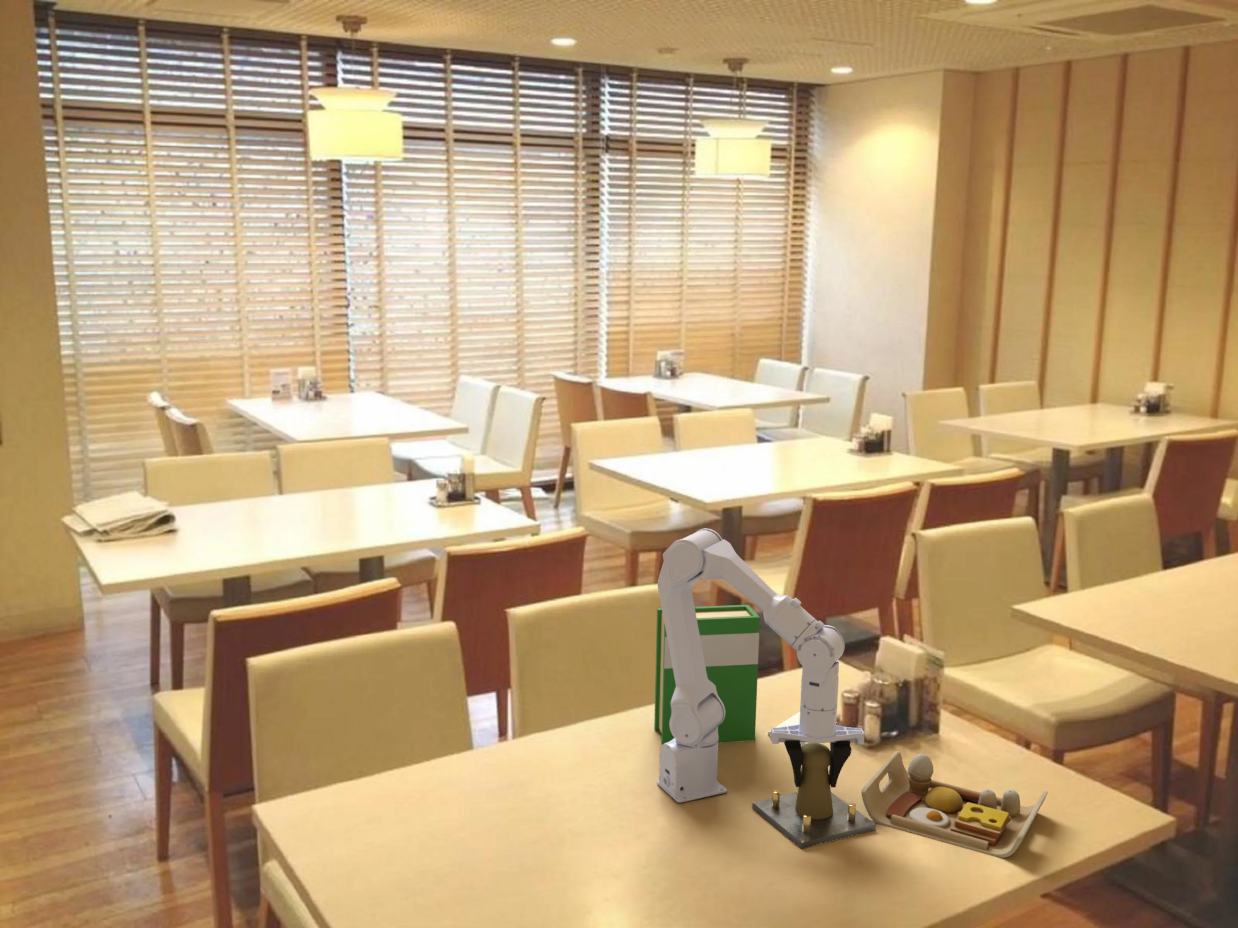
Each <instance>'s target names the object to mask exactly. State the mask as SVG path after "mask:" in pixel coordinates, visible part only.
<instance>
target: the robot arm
mask: <svg viewBox="0 0 1238 928" xmlns="http://www.w3.org/2000/svg"><path fill="white" fill-rule="evenodd" d="M662 558H663V563H662V566H661V569H660V572H659V576H658V579H657V590H658V596H659V600H660V601H659V602H660V607H661V608H662V612H663V618H664V623H665V629H666V634H667V640H668V645H669V650H670V656H671V661H672V667H673V672H674V678H675V683H676V688H675V691H674V694H673V697H672V700H671V710H672V713H671V718H670V722H669V726H670V731H671V733H672V735H673V736H674V739H672V740H671V741H669V742H667V743H664V744H663V745H662V744H661V747H660V749H659V763H658V764H659V768H658V769H659V770H658V772H659V773H658V779H657V781H656V784H657V785H659V787H660V788H661V789H663V790H664V791H665V793H667V794H668V795H669V796H670V797H671V798H672V799H673V800H675V801H676V803H679V804H681V803H686V802H690V801H694V800H698V799H703V798H708V797H711V796H716V795H720V794H725V793H727V792H728V789H727V788H726V787H725V786H724V785H722V784H721V782H719V781H718V769H719V768H718V766H719V765H718V764H719V743H718V738H719V736H718V726H719V725H720V724H721V723H722V722H723V720H724V718H725V707H724V704H723V702H722V701H721V699H720V698H719V696H718V694H717V690H716V686H715V685H714V684H713V683H712V682H711V681H709V680H708V678H707V673H706V667H705V662H704V656H703V651H702V645H701V640H700V634H699V629H698V623H697V618H696V612H695V607H696V606H695V602H694V597H693V592H692V591H693V590H692V589H693V587H694V586H695V584H696V583H697V582H698V580H699V579H700V578H701V579H703V580H723V581H726V583H728V584H730V586H732V587H733V588H734V589H735V590H737V591H738V592H739V593H741V595H743V596H744V597H745V598H747V599H748V600H749V601H751V603H753V604H754V605H755V606H757V608H759V609H760V610H761V611H762V613H763V621H764V623H765V624H766V625H767V626H769V628H771V629H772V630H773V631H774V632H775V633H776V634H777V635H778V636H779V637H780V638H782V639H783V640H784V641H785V642H786V643H787V644H788V645H789V646H790V647H791V648H792V649H793V650H795V651H796V657H797V660H798V662H799V664H800V665H801V666H802V670H801V671H802V672H801V680H800V681H801V686H800V688H801V689H800V703H799V704H800V706H799V712H800V724H798V725H792V726H785V727H777V726H775V727H776V728H775V727H770V730H771V736H770V739H769V740H770V741H771V744H772V745H779V743H783V745H784V748H785V750H786V752H787V755H788V756H789V757H788V758H789V761H790V763H791V768H792V771H793V772H792V773H793V782H794V785H795V788H799V787H801V769H802V765H801V764H802V756H803V752H802V749H801V747H802V746H801V744H800V742H814V743H820V744H826V743H829V747H830V748H829V750H830V752H831V755H832V760H831V763H830V765H829V768H828V772H829V780H830V788H837V782H838V779H839V775H840V774H841V771H842V769H843V768H844V767H843V766H844V765H845V763H846V762H847V760H848V759H849V758H850V756H851V754H852V747H851V744H856V745H859V746H860V745H865V731H864V730H863V728H860V727H850V726H842V725H838V724H837V725H836V722H837V720H838V719H837V718H838V717H837V715H838V698H839V696H838V695H839V669H840V661H838V660H839V659H840V658H841V657H842V656H843V654H844V652H845V649H846V648H845V647H846V646H845V645H846V643H845V640H844V637H843V636H842V634H841V633H840V631H839V630H838V629H837V628H836V627H835V626H832V625H829V624H825V623H824V622H822V621H821V620H817V619H816V618H815V617H814V616H813V615H811V614H810V613H809V612H808V611H807V610H806V609H804V608H803V607H802V602H801V600H800V599H798V598H797V597H794V598H792V597H791V596H790V595H788V594H783V595H782V594H777V593H776V592H775V591H774V590H773V589H772V588H771V587H770V586H769V585H768V584H767V583H766V582H765V581H764V579H762V578H761V577H760V576H759V575H758V574H757V573H756V572H755V571H754V570H753V569H752V568H751V566H749V565H748V564H747V563H746V562H745V561H744V560H743V559H742V558H741V557H740V556H739V555H738V554H737V552H736V551H735V549H734V548H733V546H732V544H731V543H730V542H729V541H727V540H726V539H723V538H722V536H721V535H720V533H718V532H717V531H715V530H714V529H711V528H701V529H698V530H696V531H695V532H693V533H692V534H689V535H688V536H685V537H683V538H681V539H677V540H675V541H674V542H672V544H670V546H669V547H667V549H666V550H665V551H664V552H663V554H662Z"/></svg>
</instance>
